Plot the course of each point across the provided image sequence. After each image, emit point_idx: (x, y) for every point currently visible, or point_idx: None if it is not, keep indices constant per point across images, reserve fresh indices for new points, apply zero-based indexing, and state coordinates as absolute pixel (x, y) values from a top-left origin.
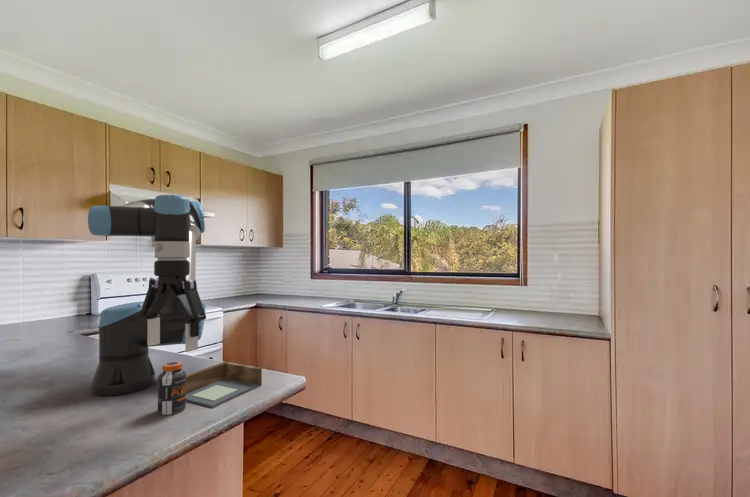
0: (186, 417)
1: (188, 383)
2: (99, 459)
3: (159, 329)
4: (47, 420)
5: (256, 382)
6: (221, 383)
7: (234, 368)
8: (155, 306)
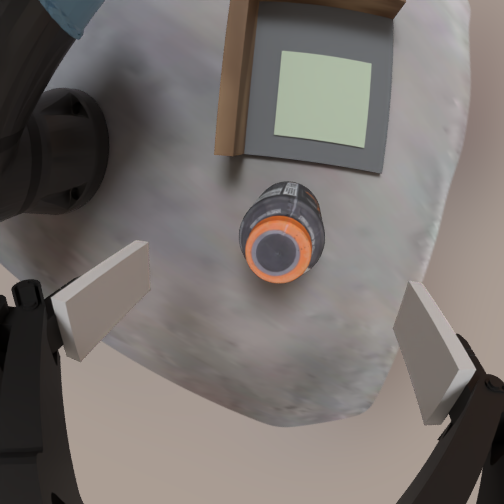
0: (354, 234)
1: (241, 118)
2: (322, 379)
3: (110, 272)
4: None
5: (388, 15)
6: (281, 33)
7: None
8: (65, 430)
